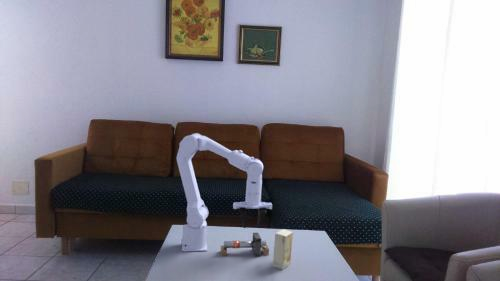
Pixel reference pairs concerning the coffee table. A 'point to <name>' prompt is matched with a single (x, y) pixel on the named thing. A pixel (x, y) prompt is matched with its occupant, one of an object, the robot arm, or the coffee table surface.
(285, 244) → the skincare box
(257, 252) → the grey square collar
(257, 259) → the coffee table surface
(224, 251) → the pipe
